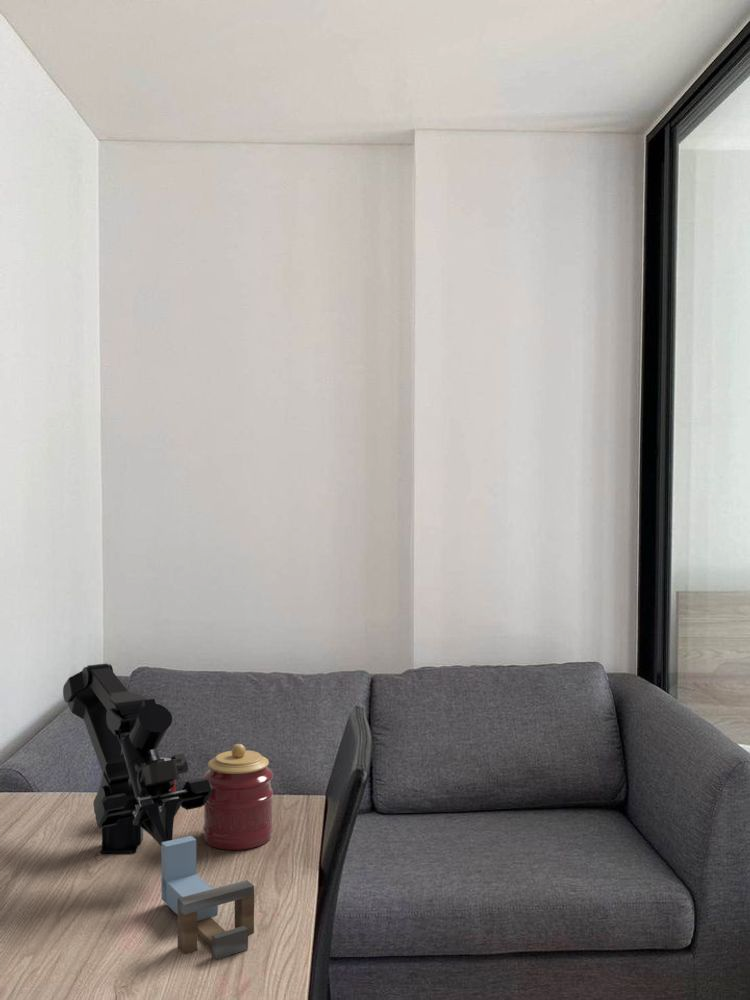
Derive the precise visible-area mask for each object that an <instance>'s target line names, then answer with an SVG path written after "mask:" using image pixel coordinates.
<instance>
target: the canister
mask: <svg viewBox="0 0 750 1000" xmlns="http://www.w3.org/2000/svg"><path fill="white" fill-rule="evenodd" d="M269 764H270V761H269V759H268V758H267V757H265V756H263V755H262V754H261V753H260V752H258V751H254V750H250V749H249V750H247V749H246V747H245V746H244V744H241V743H236V744H234V745H233V746H232V748H231V750H228V751H224V752H223V751H222V752H221V753H218V754H217V755H216V756H215V757H214V758H212V759H211V760H209V761H208V762H207V766H208V768H209V770H207V771H206V772H205V773H204V775H203V777H202V778H206V779H208V780H209V781H210V782H211V785H212V788H213V792H212V793H211V795H210V797H209V798H208V800H207V802H206V803H205V805H204V806H203V807H204V808H203V812H204V813H203V814H204V815H203V817H204V818H203V822H204V823H203V825H202V829H203V830H202V832H203V833H202V834H203V836H204V841H205V843H206V844H207V845H209V846H211V847H213V848H216V849H221V850H229V851H240V850H248V849H253V848H257V847H260V846H262V845H264V844H266V843H267V842H269V841H270V840H271V838H272V836H273V831H274V822H273V795H274V789H273V788H272V786H271V780H272V779H273V778H274V772H273V771H272V770H271V769H270V768H269V767H268V765H269Z"/></svg>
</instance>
